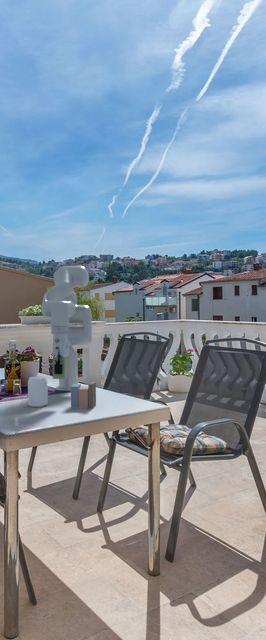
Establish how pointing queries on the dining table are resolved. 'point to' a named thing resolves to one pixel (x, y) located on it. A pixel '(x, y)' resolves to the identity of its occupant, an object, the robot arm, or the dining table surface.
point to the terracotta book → (83, 397)
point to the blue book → (74, 395)
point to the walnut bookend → (92, 394)
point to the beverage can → (37, 391)
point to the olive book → (64, 369)
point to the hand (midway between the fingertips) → (60, 372)
